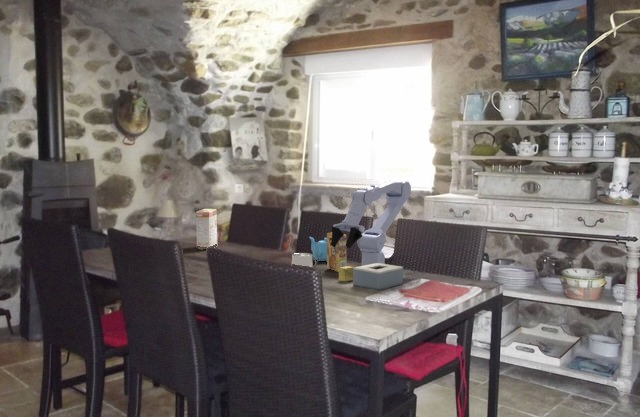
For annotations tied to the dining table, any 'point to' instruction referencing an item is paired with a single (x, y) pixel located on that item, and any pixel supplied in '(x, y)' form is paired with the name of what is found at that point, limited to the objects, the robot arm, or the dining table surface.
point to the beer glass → (302, 259)
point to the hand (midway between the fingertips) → (340, 246)
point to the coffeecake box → (206, 227)
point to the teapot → (319, 249)
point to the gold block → (345, 273)
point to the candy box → (336, 253)
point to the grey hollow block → (378, 276)
